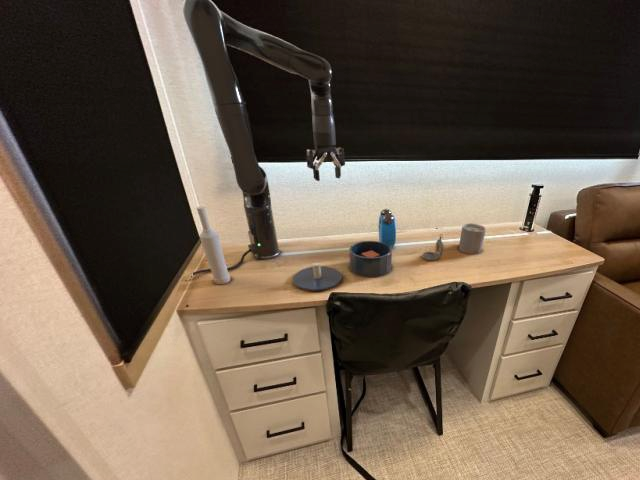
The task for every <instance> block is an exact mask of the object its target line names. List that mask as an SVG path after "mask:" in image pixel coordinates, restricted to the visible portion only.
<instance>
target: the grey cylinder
mask: <svg viewBox="0 0 640 480" xmlns="http://www.w3.org/2000/svg"><path fill="white" fill-rule="evenodd" d="M486 230H487V228H486V227H485V226H484V225H482V224H478V223H464V224H462V227H461V232H460V239H459V244H458V249H459V251H461V252H462V253H465V254H469V255H477V254H480V253H481V252H482V250H483V245H484V240H485V236H486Z"/></svg>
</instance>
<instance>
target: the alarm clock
mask: <svg viewBox="0 0 640 480" xmlns="http://www.w3.org/2000/svg"><path fill="white" fill-rule="evenodd" d="M378 217H379V218H378V239H379V240H378V242H382V243H385V244H387V245H389V246H390V247H391V248H392V249H393V248H394V246H395V245H396V239H397V225H396V224H397V223H396V218H395V215H394V214H393V213H392V210H390V209H387V208H385V209H382V210H381V211H380V215H379V216H378Z"/></svg>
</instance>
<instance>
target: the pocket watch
mask: <svg viewBox="0 0 640 480" xmlns="http://www.w3.org/2000/svg"><path fill="white" fill-rule="evenodd" d="M442 238H443V234H442V233H439V239H437V240H436V242H435V252H432V251H426V252H423V253H422V258H423V259H425V260H426V261H436V260H438V259H439V257H441V256H443V253H444V243H443V240H442Z"/></svg>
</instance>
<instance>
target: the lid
mask: <svg viewBox="0 0 640 480" xmlns="http://www.w3.org/2000/svg"><path fill="white" fill-rule="evenodd" d="M311 265H312V266H309V267H306V268H302V269H300V270H299V271H297V272H296V273H295V274H294V275H293V277H292V282H293V284H294V285H295V286H296V287H297V288H299V289H301V290H304V291H316V292H317V291H325V290H328V289H331V288H334V287H336V286H338V285H339V284H340V283H341V281H342V279H343V275H342V273H341V271H340V270H339V269H337V268H335V267H333V266H325V265H321V263H320V262H313V263H312V264H311Z"/></svg>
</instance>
